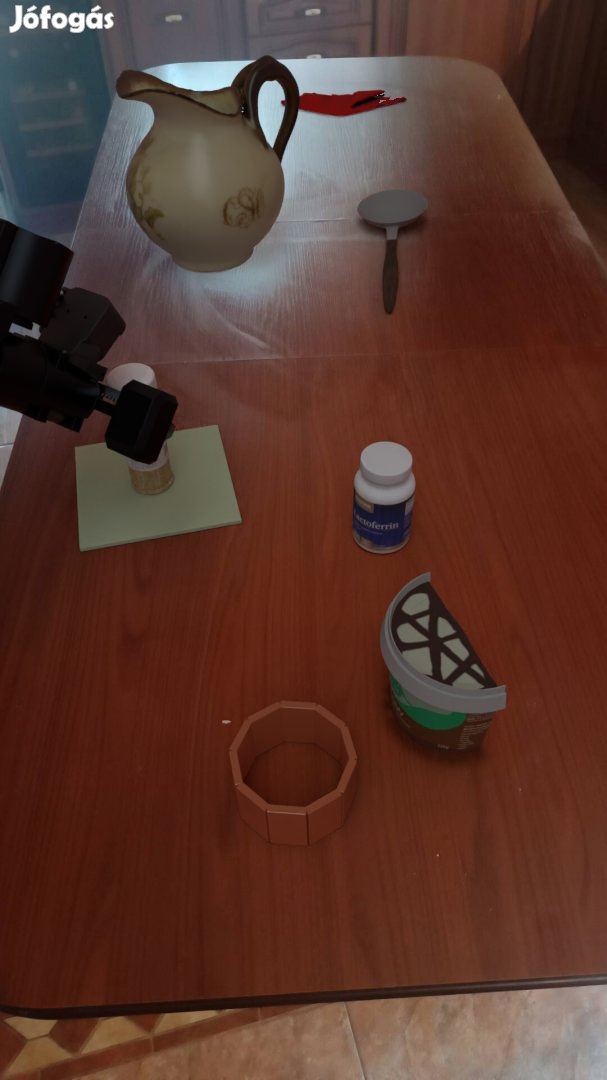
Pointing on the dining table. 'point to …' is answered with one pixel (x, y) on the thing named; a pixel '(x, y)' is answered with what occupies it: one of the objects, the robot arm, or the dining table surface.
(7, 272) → the robot arm
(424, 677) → the food container
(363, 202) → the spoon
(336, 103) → the cloth
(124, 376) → the sprinkles bottle
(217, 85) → the dining table surface
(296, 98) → the pitcher
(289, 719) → the brown hollow polygonal ring
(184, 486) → the placemat
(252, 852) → the dining table surface
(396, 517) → the pill bottle
